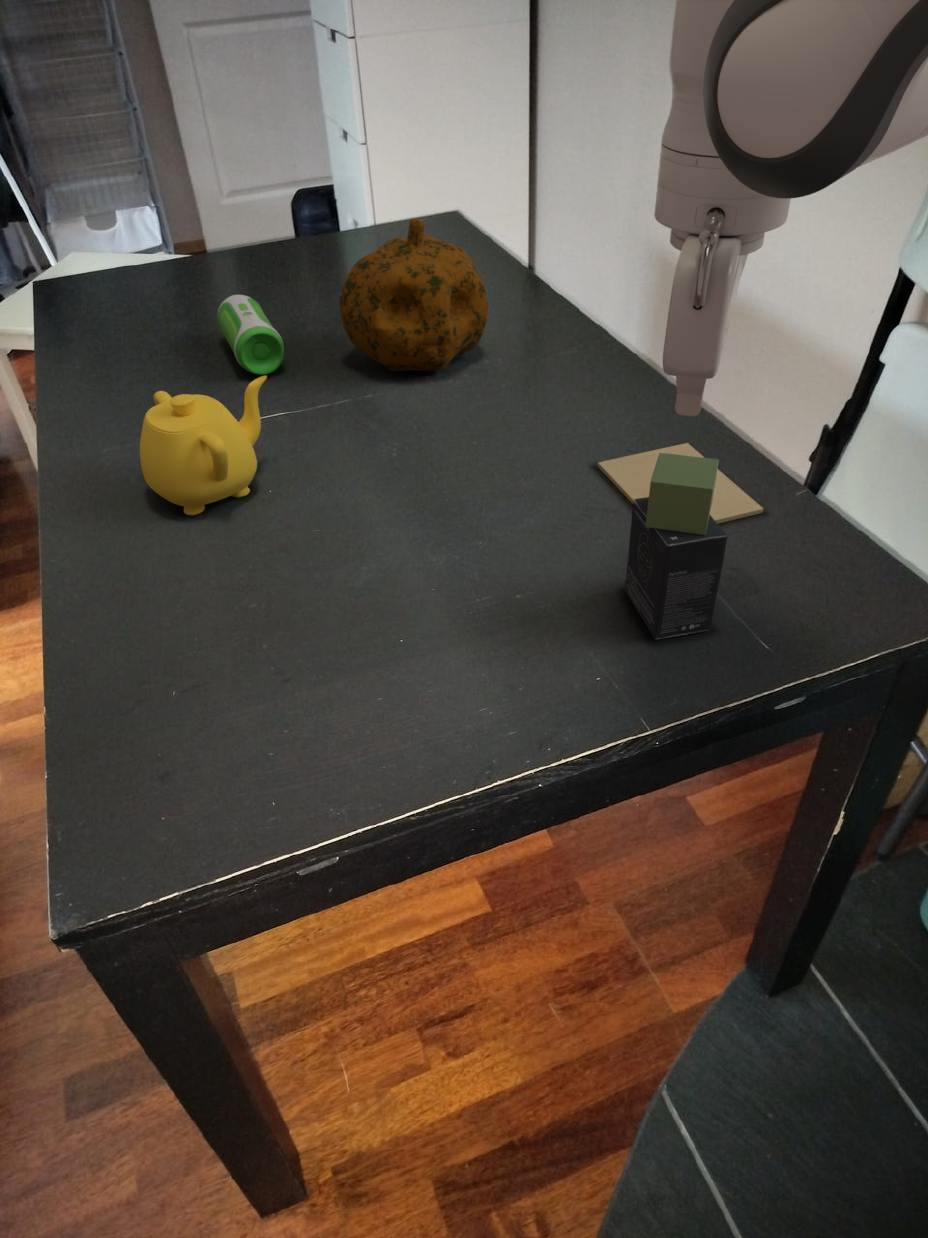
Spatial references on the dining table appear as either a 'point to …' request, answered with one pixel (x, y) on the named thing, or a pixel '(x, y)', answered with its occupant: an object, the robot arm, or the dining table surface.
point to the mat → (637, 475)
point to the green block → (681, 493)
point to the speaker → (250, 335)
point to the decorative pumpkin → (414, 303)
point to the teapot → (199, 448)
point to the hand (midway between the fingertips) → (695, 384)
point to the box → (673, 575)
